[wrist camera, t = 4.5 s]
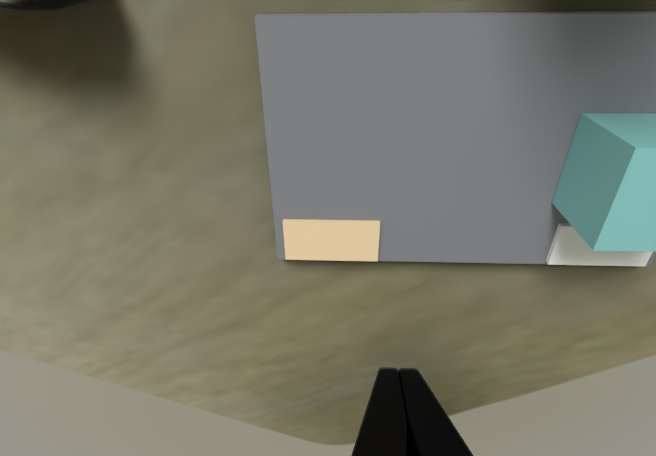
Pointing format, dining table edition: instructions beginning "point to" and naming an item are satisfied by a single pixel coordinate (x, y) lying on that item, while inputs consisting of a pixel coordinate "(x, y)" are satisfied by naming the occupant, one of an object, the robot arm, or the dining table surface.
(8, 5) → the mobile phone
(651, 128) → the teal cube
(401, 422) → the robot arm
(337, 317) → the dining table surface
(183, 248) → the dining table surface
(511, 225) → the grey flat board
